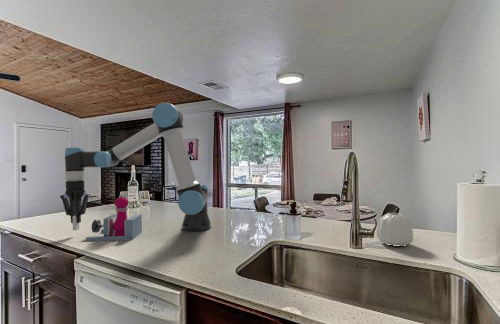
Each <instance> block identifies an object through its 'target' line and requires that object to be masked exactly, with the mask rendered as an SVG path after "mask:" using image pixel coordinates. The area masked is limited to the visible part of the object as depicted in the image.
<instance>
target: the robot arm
mask: <svg viewBox="0 0 500 324" xmlns="http://www.w3.org/2000/svg"><path fill="white" fill-rule="evenodd" d="M151 119H152V121H153V123H152V124H151V125H147V127H145V128H144V129H142V130H140V131H139V132H137V133H135V134H133V135H132V136H130V137H128V138H126V139H125V140H124V141H122V142H120V143H119V144H117V145H115V146H114V147H112V148H111V149H109V150H106V151H103V150H102V151H101V150H99V151H97V150H96V151H85V149H84V148H83V147H80V146H79V147H77V146H76V147H74V146H73V147H66V148H65V150H64V152H65V153H64V163H65V164H64V165H65V166H64V167H65V173H64V174H65V193H64V194H61V195H60V196H59V197H60V199H61V201H62V204H63V207H64V211H65V215H66V216H70V223H71V224H72V231H74V232H75V231H77V230H79V229H80V223H81V222H82V215H85V214H86V211H87V206H88V203H89V202H88V201H89V199H90V197H91V194H90V193H89V194H88V193H87V192H86V190H85V168H109V167H110V168H112V167H115V166H117V165H118V164H119V162H121V161H122V160H124V159H125V158H127V157H129V156H131V155H132V154H134V153H136V152H137V151H139V150H141V149H142V148H144V147H145V146H147V145H149V144H151V143H152V142H154V141H156V140H157V139H158V138H160V137H163V140H164V142H165V146H166V148H167V152H168V155H169V158H170V162H171V165H172V167H173V172H174V175H175V179H176V181H177V187H176V193H177V197H178V199H177V200H178V201H177V205H178V207H179V209H180V211H181V212H182V213H184V217H183V221H182V223H181V229H182V230H183V231H187V232H200V231H206V230H209V229H211V227H212V225H211V220H210V216H209V214H208V213H209V212H208V192H209V189H208V185H206V184H201V182H199V181H198V180H196V176H195V173H194V169H193V166H192V163H191V160H190V157H189V153H188V150H187V146H186V143H185V139H184V137H183V131H184V130H185V128H184V124H183V122H184V116H183V113H182V112H181V111H180V110H179V109H178V108H177V107H176V105H173V104H172V103H170V102H161V103H159V104H157V105H156V106H155V107H154V108H153V110H152V114H151ZM82 198H83V199H82Z"/></svg>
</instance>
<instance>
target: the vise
mask: <svg viewBox="0 0 500 324" xmlns="http://www.w3.org/2000/svg"><path fill="white" fill-rule="evenodd" d="M142 215H143V214H139V213H137V214H133V215H132V216H130V217H127V218H128V219H126V220H125V236H115V235H113V236H104V235H103V236H97V235H96V236H86V238H85V241H86V242H87V241H88V242H98V241H99V242H102V241H104V242H106V241H105V240H120V241H130V240H134V239H135V238H136V237H138V236H139V235H140V234H142V232H143V216H142ZM101 232H104V228H100V233H101Z"/></svg>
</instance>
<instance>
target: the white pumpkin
mask: <svg viewBox="0 0 500 324" xmlns="http://www.w3.org/2000/svg"><path fill="white" fill-rule="evenodd" d="M412 226H413V225H412V224H411V221H410V220H409V218H407V217H406V216H405V215H403V214H402V213H399V212H398V213H397V212H387V213H386V214H384V215H382V216H381V217H379V219H378V221H377V226H376V237H377V238H378V240H379V241H380V242H381V243H382V242H384V243H386V244H391V245H400V246H404V245H408V244H409V245H410V244H411V243H412V242H413V241H414V231H413V227H412ZM386 244H385V245H386ZM409 245H408V246H409ZM404 247H405V246H404Z"/></svg>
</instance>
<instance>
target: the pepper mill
mask: <svg viewBox="0 0 500 324" xmlns="http://www.w3.org/2000/svg"><path fill="white" fill-rule="evenodd" d="M124 196H125V195H124V194H123V193H121V194H120V195H119V197H118V198H116V199H115V201H114V206H115V207H116V208H115V211H116V214H117V218H116V220H115V223H114V226H113V229H114V230H115V231H116V232H115V234H114V236H125V220H126V219H128V218H129V217H128V216H127V214H128V213H127V211H128V205H129V202H130V201H129V199H128V198H126V197H124Z"/></svg>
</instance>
